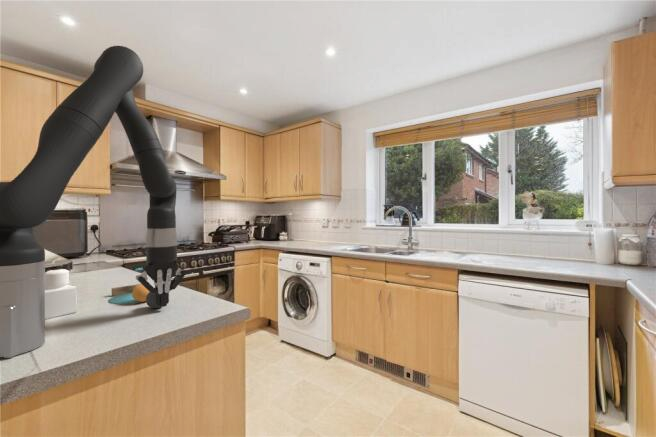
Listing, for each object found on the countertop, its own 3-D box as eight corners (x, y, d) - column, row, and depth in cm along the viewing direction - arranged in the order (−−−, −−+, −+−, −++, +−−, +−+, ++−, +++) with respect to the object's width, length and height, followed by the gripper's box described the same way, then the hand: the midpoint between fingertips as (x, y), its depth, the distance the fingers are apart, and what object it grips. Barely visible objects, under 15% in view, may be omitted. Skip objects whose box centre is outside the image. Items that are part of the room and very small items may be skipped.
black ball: (164, 292, 85) (159, 281, 89) (144, 303, 83) (140, 292, 86) (173, 304, 88) (168, 293, 92) (154, 315, 86) (149, 304, 90)
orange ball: (148, 304, 91) (148, 285, 91) (128, 304, 90) (128, 286, 90) (156, 298, 96) (156, 281, 96) (137, 299, 95) (137, 282, 95)
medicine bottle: (31, 315, 80) (30, 270, 79) (64, 308, 86) (64, 266, 86) (43, 320, 76) (43, 273, 76) (77, 312, 83) (77, 268, 82)
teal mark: (149, 303, 92) (149, 302, 92) (98, 304, 89) (98, 304, 89) (166, 291, 105) (166, 290, 105) (122, 292, 103) (122, 292, 103)
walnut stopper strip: (142, 290, 106) (142, 283, 106) (143, 291, 105) (143, 284, 105) (111, 295, 99) (111, 288, 99) (112, 296, 98) (112, 288, 98)
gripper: (181, 241, 92) (181, 298, 92) (130, 245, 82) (131, 308, 83) (191, 243, 87) (192, 303, 87) (138, 247, 77) (139, 315, 77)
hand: (162, 306), depth 85 cm, fingers closed
